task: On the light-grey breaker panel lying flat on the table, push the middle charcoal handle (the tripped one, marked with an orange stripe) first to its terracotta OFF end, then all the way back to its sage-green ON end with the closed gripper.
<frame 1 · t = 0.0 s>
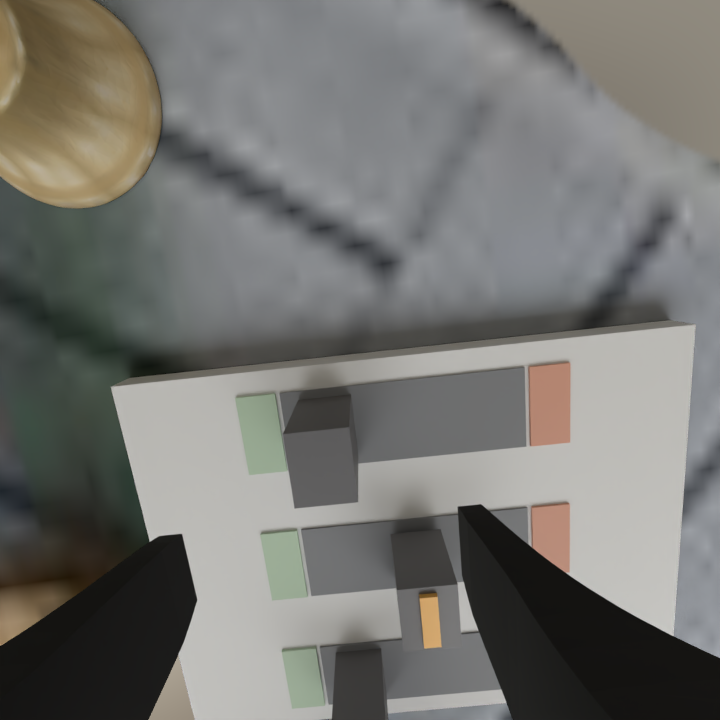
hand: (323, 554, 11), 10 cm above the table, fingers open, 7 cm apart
panel: (412, 532, 22), on the table
hand bell: (67, 106, 18), on the table
tripped breaker: (423, 587, 18), point 4 cm above the table, slide at 0.0 cm
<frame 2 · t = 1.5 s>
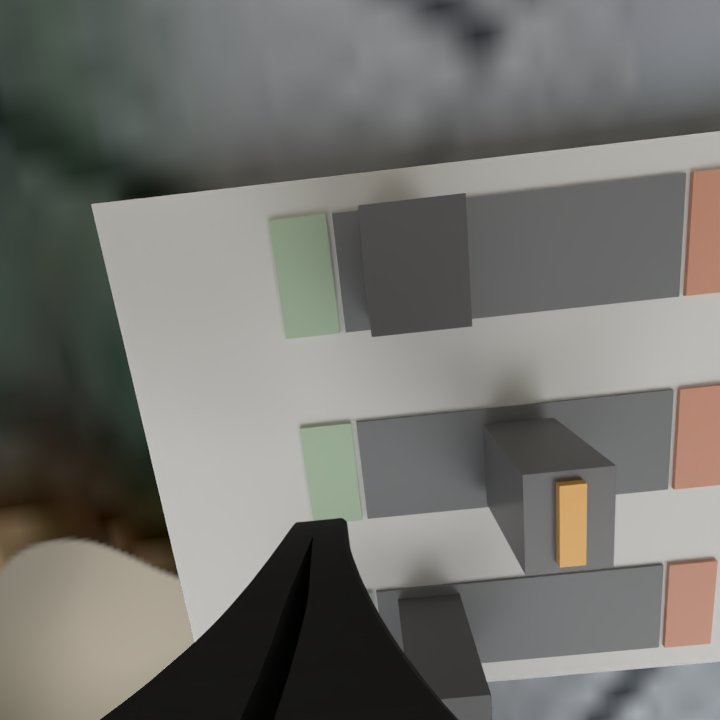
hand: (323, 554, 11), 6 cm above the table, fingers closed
panel: (500, 438, 16), on the table
tripped breaker: (542, 489, 13), point 4 cm above the table, slide at 0.0 cm
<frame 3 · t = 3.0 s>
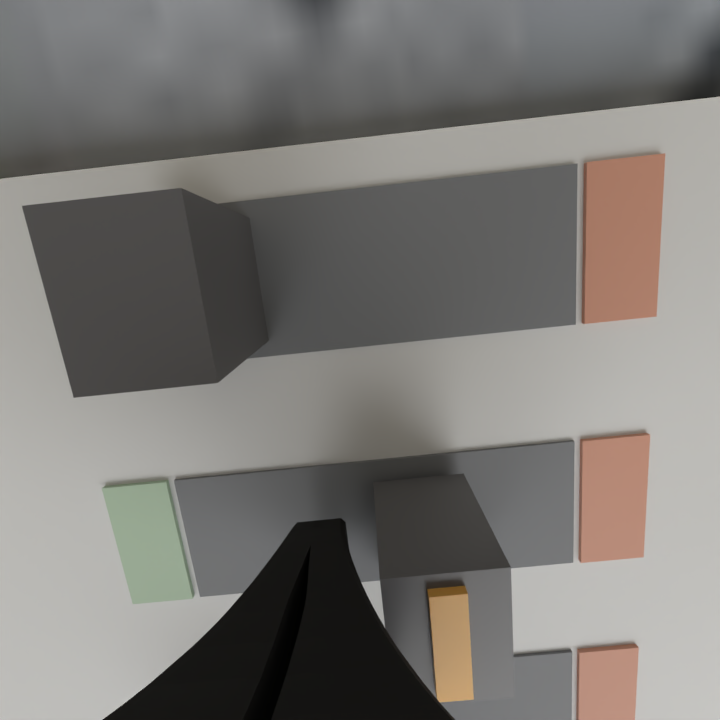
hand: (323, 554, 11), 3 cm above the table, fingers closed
panel: (376, 492, 13), on the table
tripped breaker: (434, 577, 9), point 4 cm above the table, slide at -1.2 cm, touching gripper
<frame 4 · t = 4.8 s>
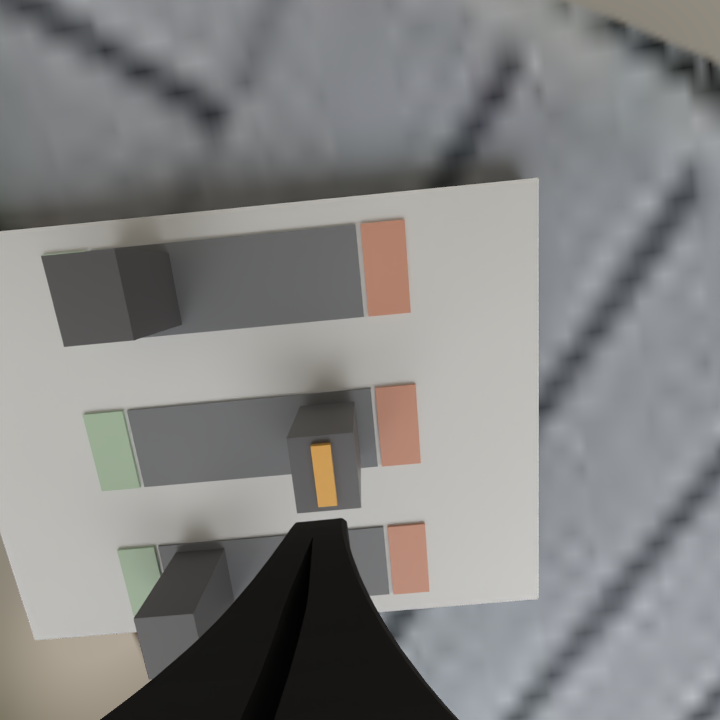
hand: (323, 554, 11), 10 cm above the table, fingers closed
panel: (262, 426, 20), on the table
tripped breaker: (327, 453, 17), point 4 cm above the table, slide at -3.5 cm
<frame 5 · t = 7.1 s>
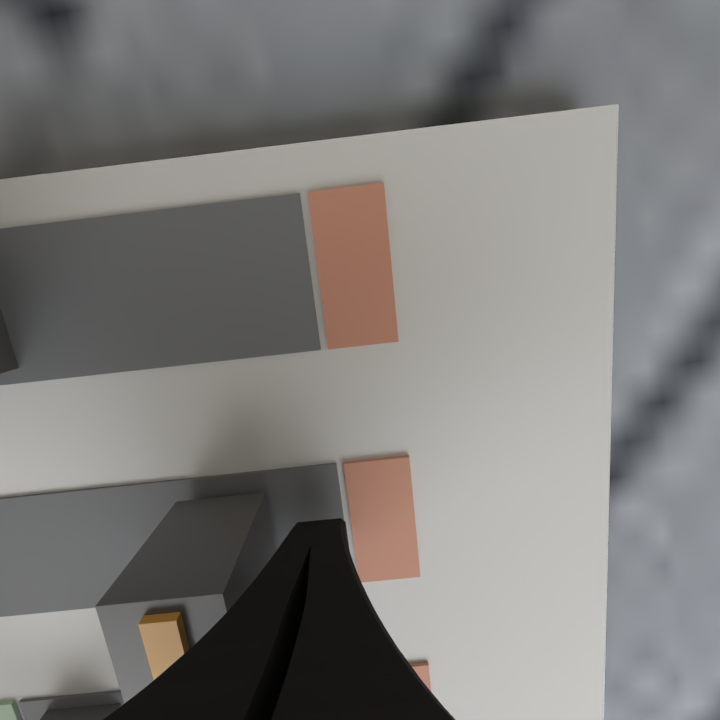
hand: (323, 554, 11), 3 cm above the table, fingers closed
panel: (177, 512, 13), on the table
tripped breaker: (206, 598, 10), point 4 cm above the table, slide at -2.3 cm, touching gripper
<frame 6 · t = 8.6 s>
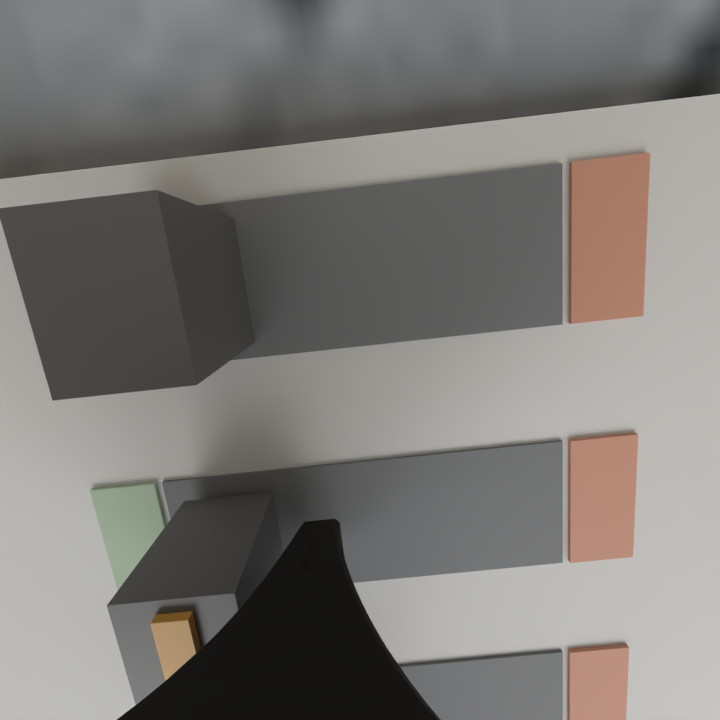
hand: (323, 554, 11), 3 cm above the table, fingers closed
panel: (366, 493, 13), on the table
tripped breaker: (215, 597, 10), point 4 cm above the table, slide at 3.6 cm, touching gripper
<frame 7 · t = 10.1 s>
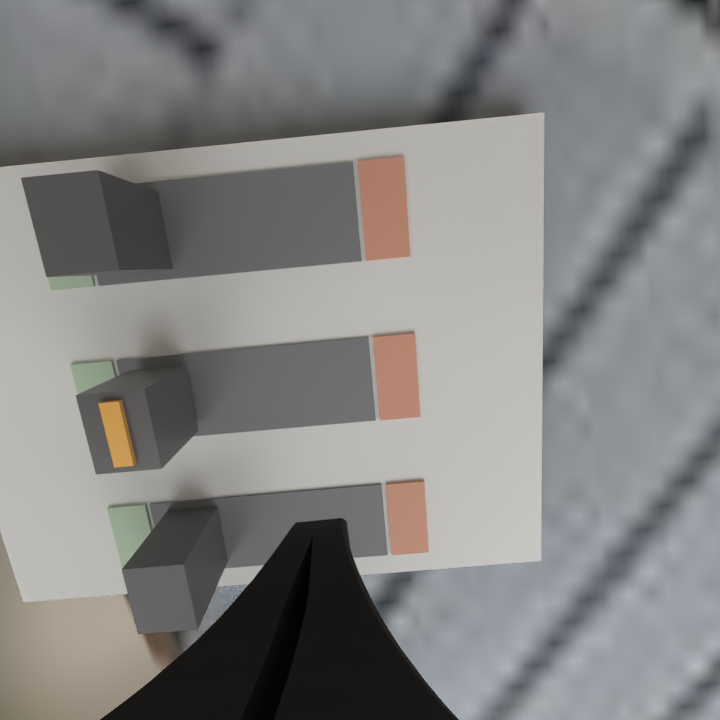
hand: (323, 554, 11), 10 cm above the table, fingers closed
panel: (256, 381, 20), on the table
tripped breaker: (143, 416, 16), point 4 cm above the table, slide at 3.5 cm
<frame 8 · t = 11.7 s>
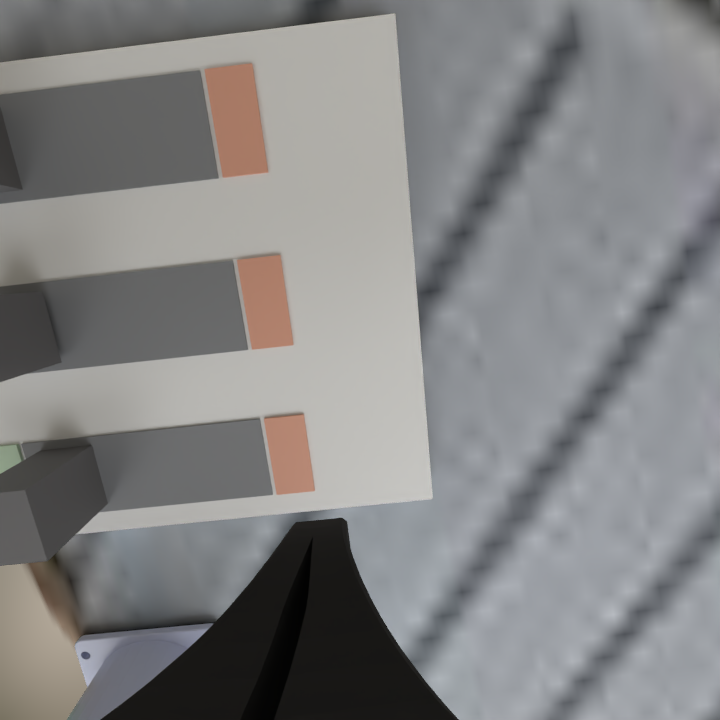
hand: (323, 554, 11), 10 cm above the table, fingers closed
panel: (132, 315, 19), on the table
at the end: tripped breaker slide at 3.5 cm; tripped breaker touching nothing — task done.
